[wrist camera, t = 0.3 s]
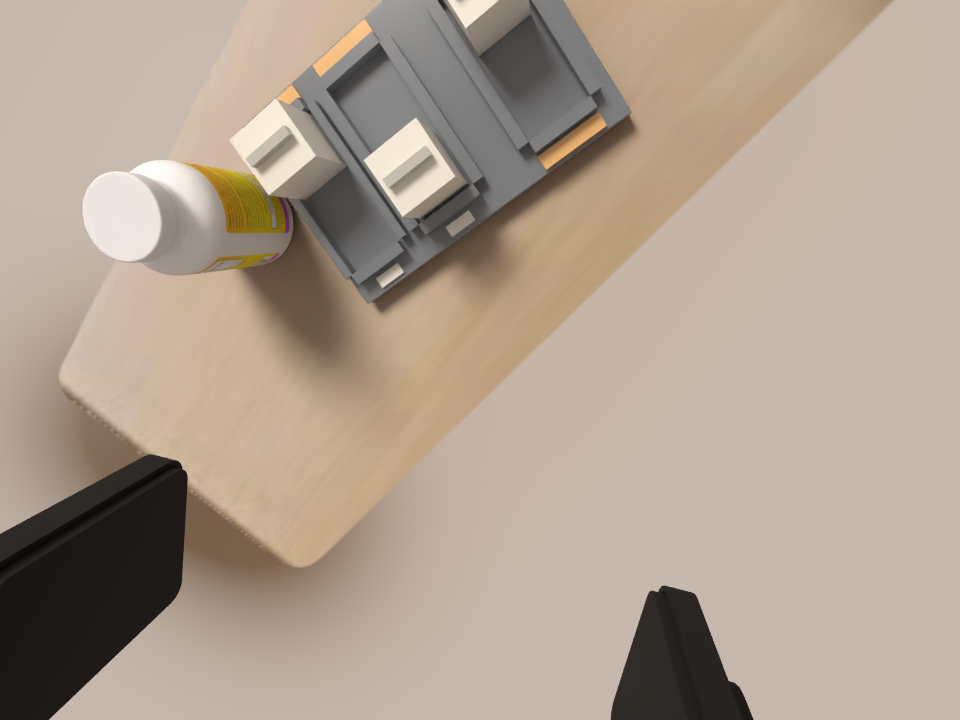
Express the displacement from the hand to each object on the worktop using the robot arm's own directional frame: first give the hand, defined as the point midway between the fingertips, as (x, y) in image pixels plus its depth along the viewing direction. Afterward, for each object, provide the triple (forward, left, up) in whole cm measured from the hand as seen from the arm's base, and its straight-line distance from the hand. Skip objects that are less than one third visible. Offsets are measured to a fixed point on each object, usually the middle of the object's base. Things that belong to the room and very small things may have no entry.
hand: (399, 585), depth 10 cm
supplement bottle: (+12, -18, -30) cm, 37 cm away
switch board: (-3, -15, -30) cm, 34 cm away
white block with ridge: (-1, -12, -29) cm, 31 cm away
